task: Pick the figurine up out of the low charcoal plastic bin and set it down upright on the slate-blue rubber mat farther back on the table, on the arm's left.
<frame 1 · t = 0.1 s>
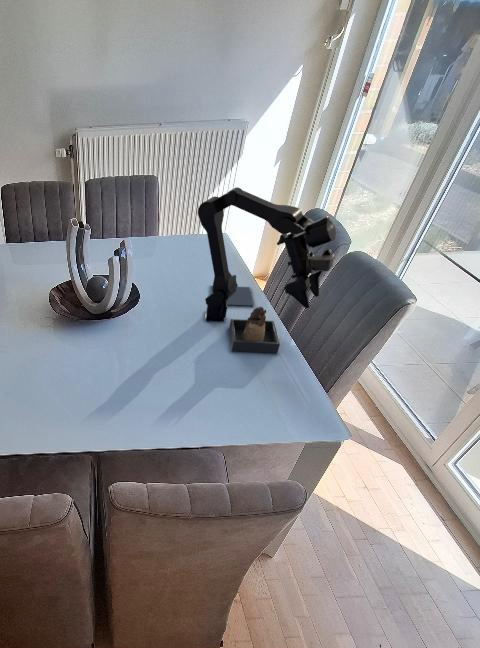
hand: (312, 302, 143), 15 cm above the table, tool tilted 30°, fingers open, 9 cm apart
mat: (231, 296, 178), on the table
figurine: (252, 340, 155), resting in bin
bin: (252, 341, 156), on the table
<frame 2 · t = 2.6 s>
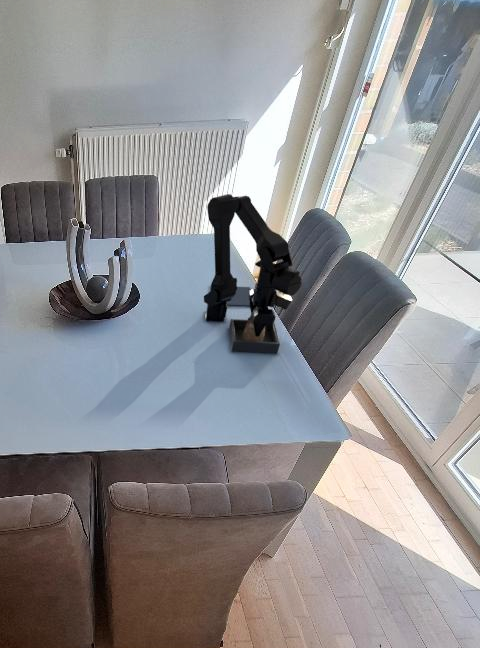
hand: (255, 330, 152), 5 cm above the table, tool pointing down, fingers closed on figurine, 8 cm apart
figurine: (252, 340, 155), resting in bin, touching gripper
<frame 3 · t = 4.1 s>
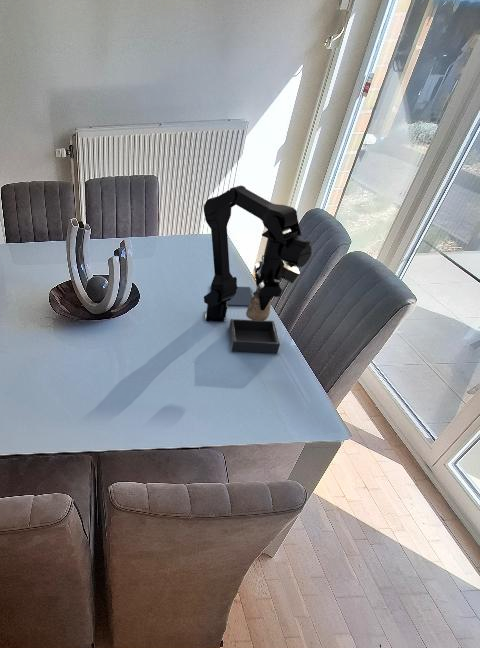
hand: (261, 304, 147), 13 cm above the table, tool pointing down, fingers closed on figurine, 7 cm apart
figurine: (257, 316, 151), point 8 cm above the table, touching gripper
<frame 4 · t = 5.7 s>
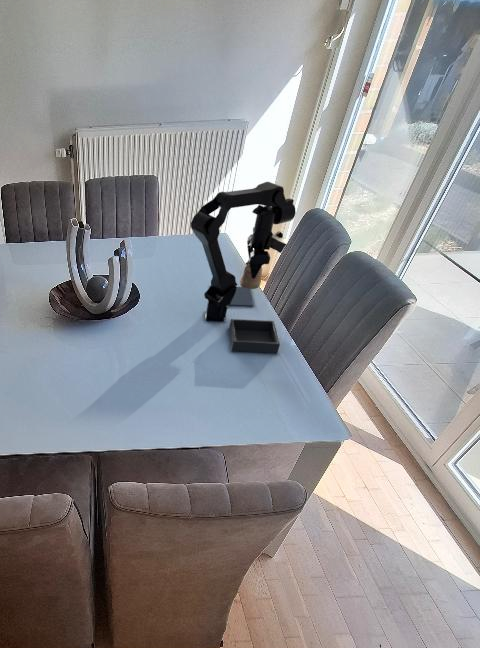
hand: (252, 273, 162), 13 cm above the table, tool pointing down, fingers closed on figurine, 7 cm apart
figurine: (249, 285, 166), point 8 cm above the table, touching gripper
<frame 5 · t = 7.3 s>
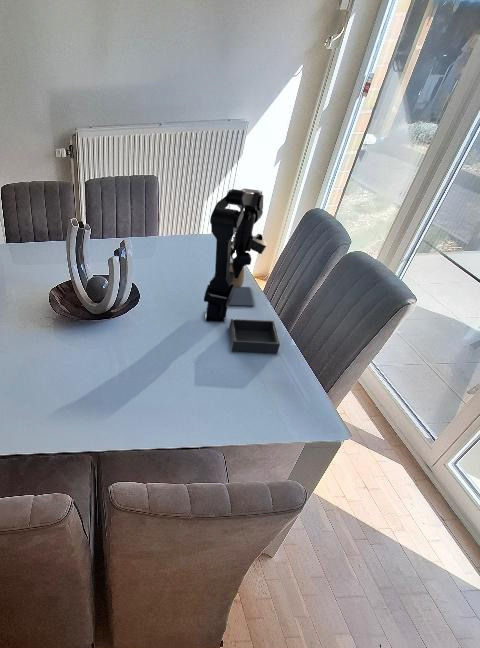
hand: (235, 274, 171), 9 cm above the table, tool pointing down, fingers closed on figurine, 7 cm apart
figurine: (232, 285, 175), point 4 cm above the table, touching gripper
when the fingers open (5 cm above the table, at t = 8.9 s): figurine stays where it is, resting on mat.
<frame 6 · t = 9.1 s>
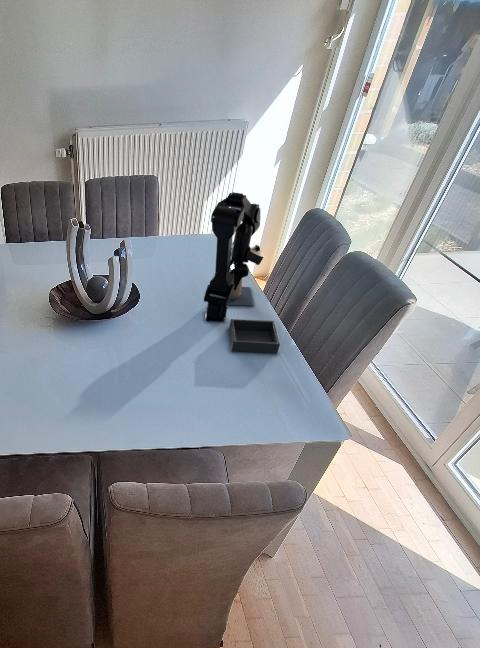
hand: (233, 284, 174), 5 cm above the table, tool pointing down, fingers open, 9 cm apart
figurine: (230, 294, 178), resting on mat, touching gripper
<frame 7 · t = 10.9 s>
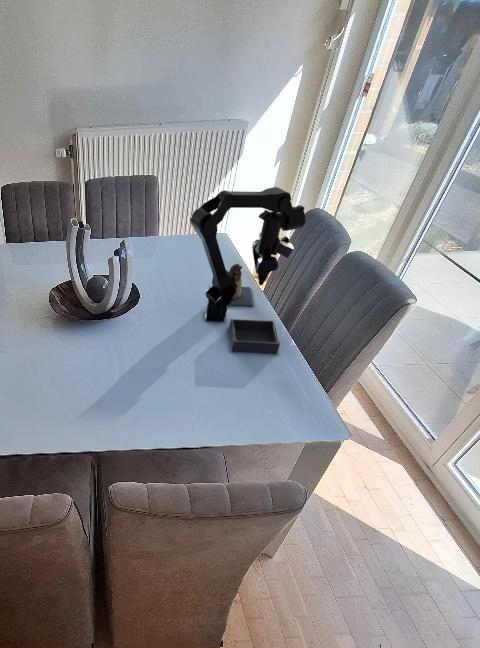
hand: (259, 279, 161), 12 cm above the table, tool pointing down, fingers open, 9 cm apart
figurine: (230, 295, 178), resting on mat
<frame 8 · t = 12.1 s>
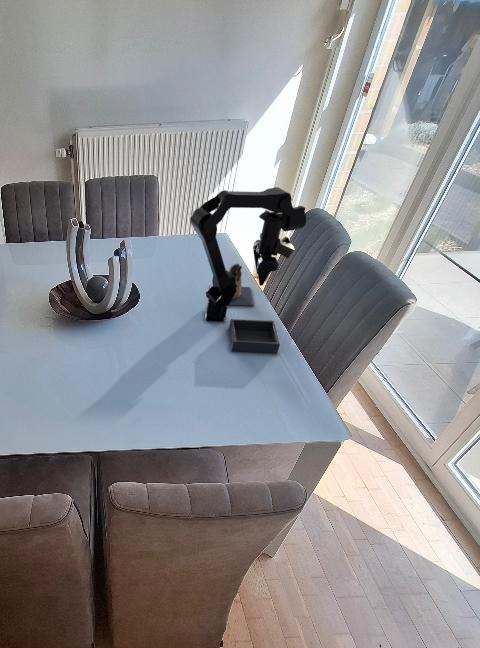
hand: (259, 279, 161), 12 cm above the table, tool pointing down, fingers open, 9 cm apart
nothing on the table moved.
at the end: figurine inside the target area on the mat (0.4 cm from its centre), point 0.2 cm above the mat's base; figurine touching mat; figurine tilted 0° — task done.
